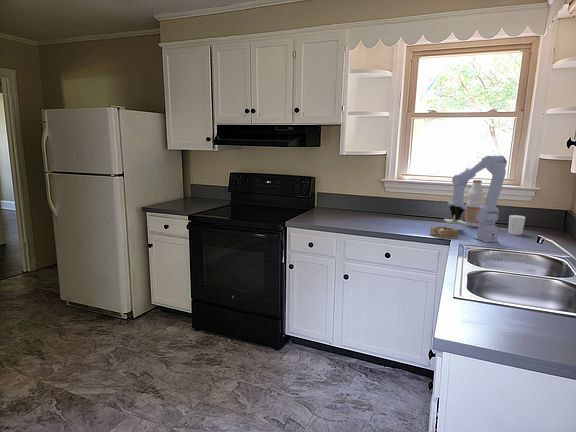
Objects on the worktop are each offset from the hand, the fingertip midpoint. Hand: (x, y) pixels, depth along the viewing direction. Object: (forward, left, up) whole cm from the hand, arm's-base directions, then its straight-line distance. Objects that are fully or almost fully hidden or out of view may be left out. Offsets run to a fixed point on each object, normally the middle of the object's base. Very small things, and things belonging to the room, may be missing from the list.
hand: (455, 219), depth 231 cm
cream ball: (-9, +15, -4) cm, 18 cm away
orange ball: (-13, +15, -4) cm, 20 cm away
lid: (0, 0, -2) cm, 2 cm away
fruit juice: (+10, -20, -7) cm, 23 cm away
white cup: (-13, -30, -7) cm, 33 cm away
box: (-11, +15, -6) cm, 20 cm away
